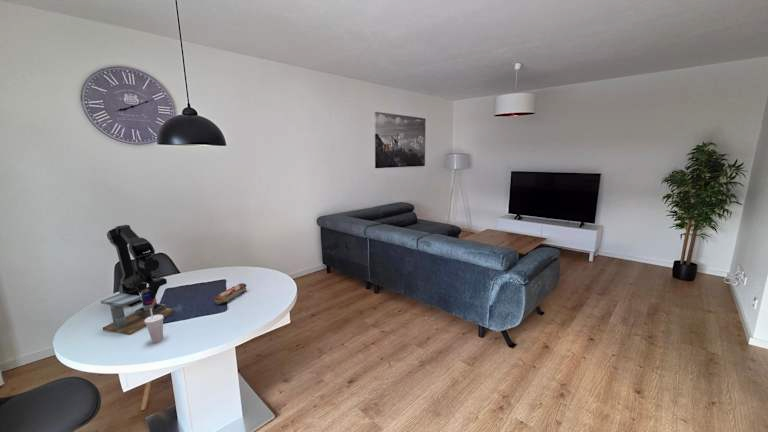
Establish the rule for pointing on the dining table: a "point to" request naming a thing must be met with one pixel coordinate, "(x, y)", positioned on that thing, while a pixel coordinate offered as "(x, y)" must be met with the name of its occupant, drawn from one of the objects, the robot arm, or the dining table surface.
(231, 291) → the pencil case
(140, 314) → the socket board
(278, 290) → the dining table surface
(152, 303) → the energy drink
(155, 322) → the smoothie
